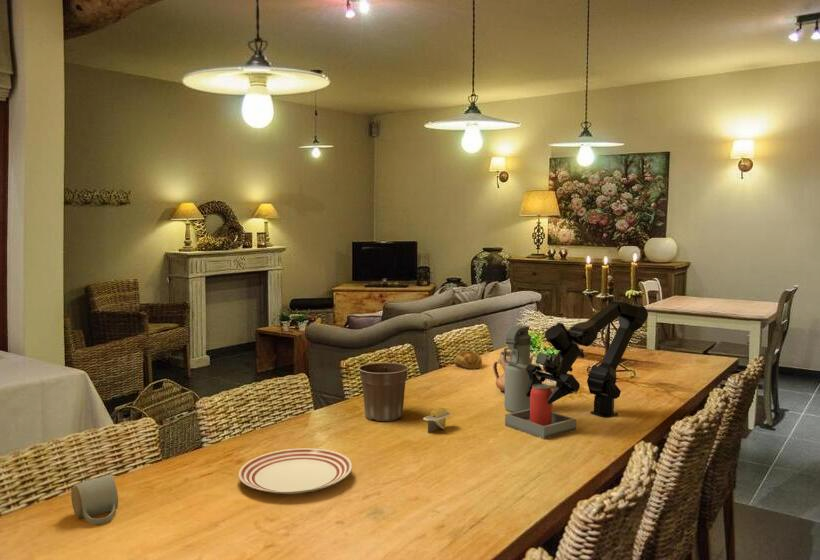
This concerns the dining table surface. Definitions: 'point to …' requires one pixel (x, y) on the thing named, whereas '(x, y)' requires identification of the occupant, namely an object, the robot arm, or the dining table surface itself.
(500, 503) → the dining table surface
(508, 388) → the water bottle
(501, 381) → the ceramic jug
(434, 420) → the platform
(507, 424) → the tray
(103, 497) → the ceramic mug
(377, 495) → the dining table surface
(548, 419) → the beer can
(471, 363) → the bread roll
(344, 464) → the dinner plate
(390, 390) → the plant pot
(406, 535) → the dining table surface
